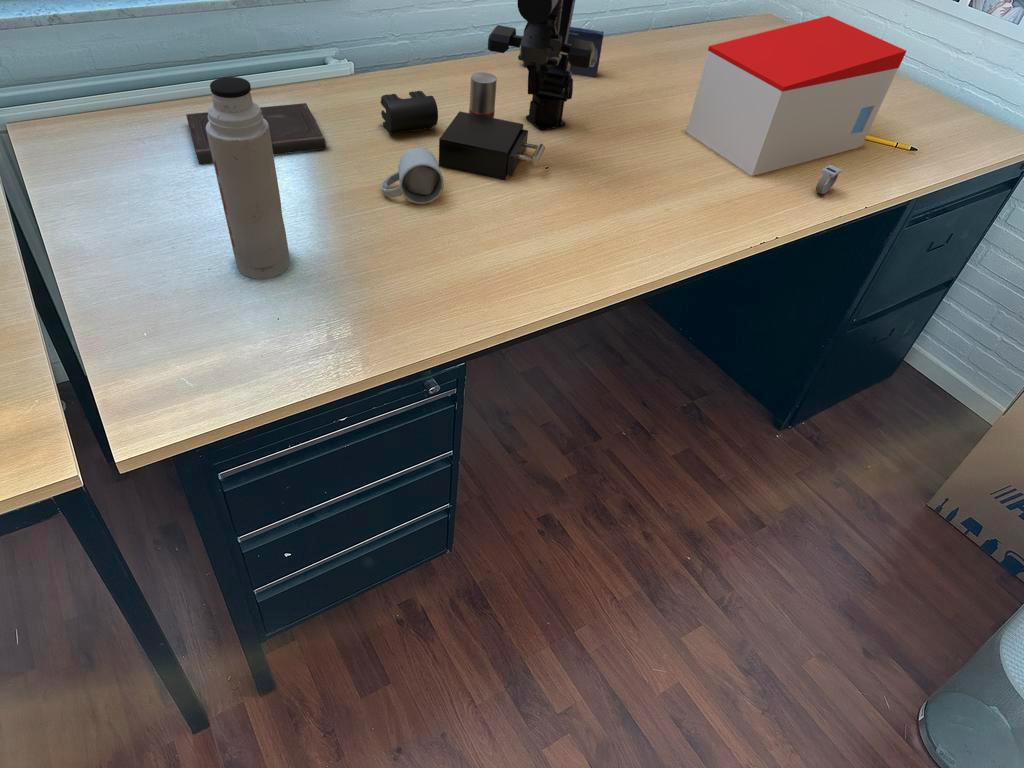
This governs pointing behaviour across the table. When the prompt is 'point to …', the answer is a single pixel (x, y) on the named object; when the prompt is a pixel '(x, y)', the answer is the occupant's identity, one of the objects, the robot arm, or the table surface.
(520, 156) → the drawer
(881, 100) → the bookstore
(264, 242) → the thermos bottle
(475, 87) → the grey metal cylinder
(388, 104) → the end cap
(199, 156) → the hardcover book
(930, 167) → the table surface
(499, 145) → the cabinet
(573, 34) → the vhs cassette tape
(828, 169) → the wristwatch
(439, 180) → the ceramic mug
